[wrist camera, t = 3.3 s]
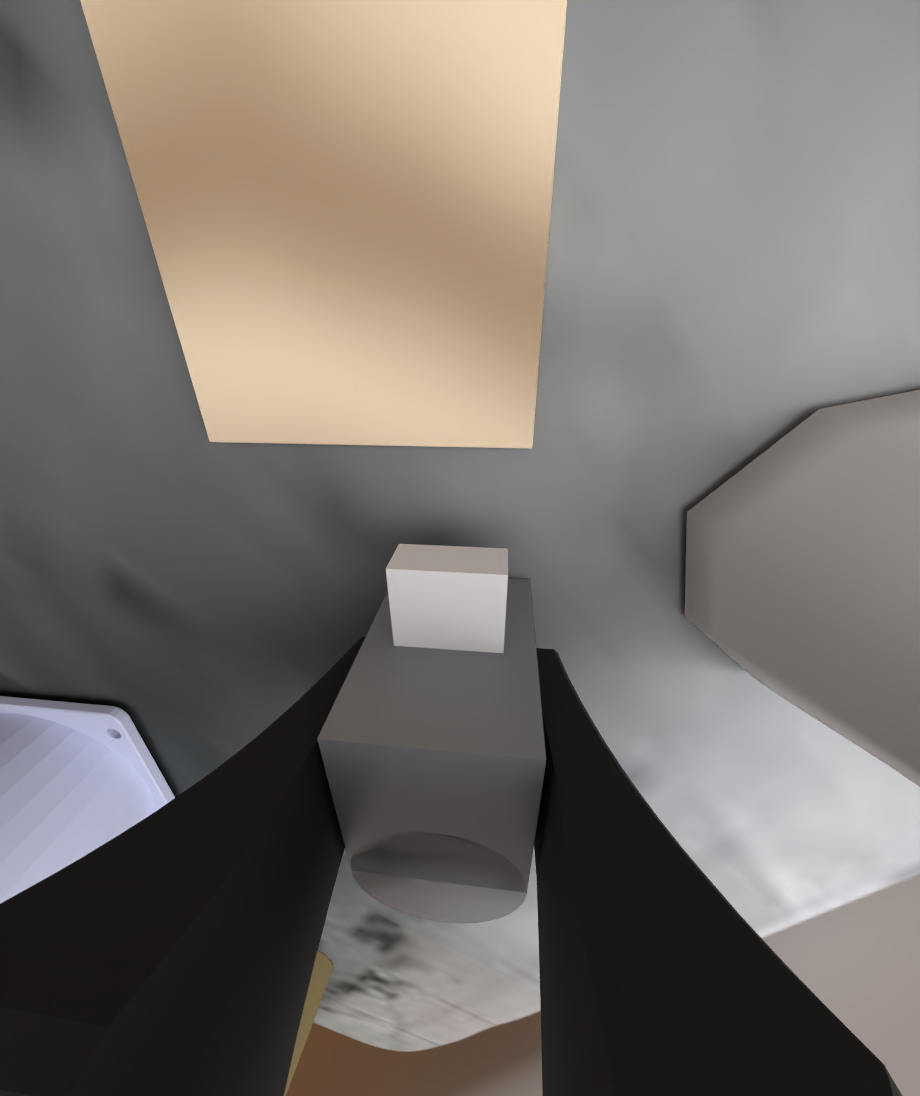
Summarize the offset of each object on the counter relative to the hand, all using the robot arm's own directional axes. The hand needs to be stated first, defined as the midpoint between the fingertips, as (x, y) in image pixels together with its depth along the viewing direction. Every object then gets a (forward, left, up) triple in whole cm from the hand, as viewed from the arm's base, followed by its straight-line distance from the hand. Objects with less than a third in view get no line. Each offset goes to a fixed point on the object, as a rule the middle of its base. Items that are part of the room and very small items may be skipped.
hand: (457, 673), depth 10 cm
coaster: (+9, +2, -1) cm, 9 cm away
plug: (0, 0, -1) cm, 1 cm away
